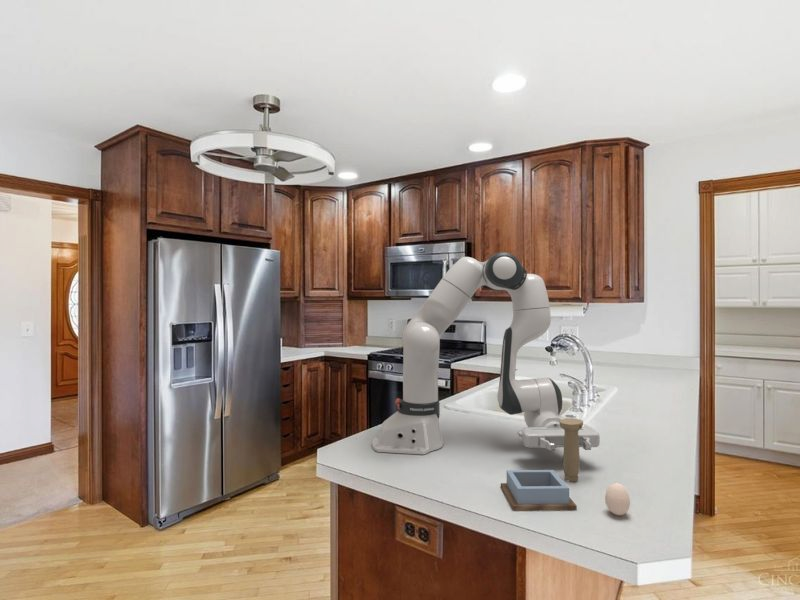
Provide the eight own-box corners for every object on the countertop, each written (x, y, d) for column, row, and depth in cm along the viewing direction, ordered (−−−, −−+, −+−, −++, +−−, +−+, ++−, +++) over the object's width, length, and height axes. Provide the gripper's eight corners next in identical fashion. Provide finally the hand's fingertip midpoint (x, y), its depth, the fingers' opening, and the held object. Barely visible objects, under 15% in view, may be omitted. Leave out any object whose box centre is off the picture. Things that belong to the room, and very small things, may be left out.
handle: (555, 480, 115) (555, 421, 115) (569, 473, 119) (569, 417, 119) (573, 486, 111) (573, 425, 111) (587, 479, 115) (586, 421, 115)
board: (512, 510, 99) (512, 506, 99) (500, 487, 111) (500, 483, 111) (576, 510, 99) (576, 505, 99) (557, 486, 111) (557, 482, 111)
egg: (608, 507, 101) (608, 477, 100) (632, 513, 98) (632, 482, 97) (602, 515, 97) (602, 484, 97) (626, 522, 94) (626, 490, 94)
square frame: (517, 504, 100) (517, 488, 100) (506, 484, 110) (506, 470, 110) (569, 504, 100) (569, 488, 100) (553, 484, 110) (553, 469, 110)
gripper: (515, 420, 130) (529, 435, 116) (586, 419, 130) (609, 434, 116) (515, 442, 130) (529, 459, 116) (586, 441, 130) (609, 459, 116)
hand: (570, 447), depth 116 cm, fingers open, 8 cm apart
